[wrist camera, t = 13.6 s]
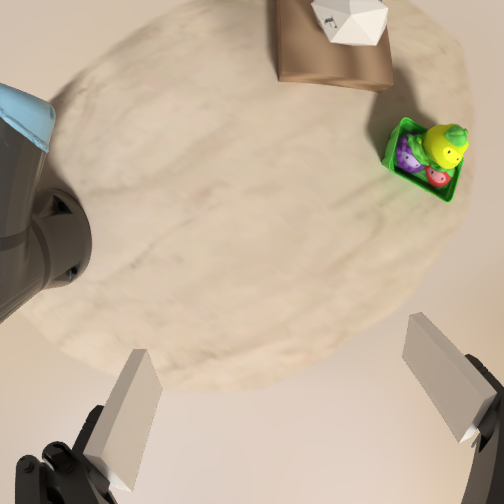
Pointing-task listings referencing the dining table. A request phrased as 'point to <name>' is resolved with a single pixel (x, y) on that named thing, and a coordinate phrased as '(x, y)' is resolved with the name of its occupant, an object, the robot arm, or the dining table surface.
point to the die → (351, 20)
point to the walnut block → (327, 53)
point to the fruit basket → (427, 156)
